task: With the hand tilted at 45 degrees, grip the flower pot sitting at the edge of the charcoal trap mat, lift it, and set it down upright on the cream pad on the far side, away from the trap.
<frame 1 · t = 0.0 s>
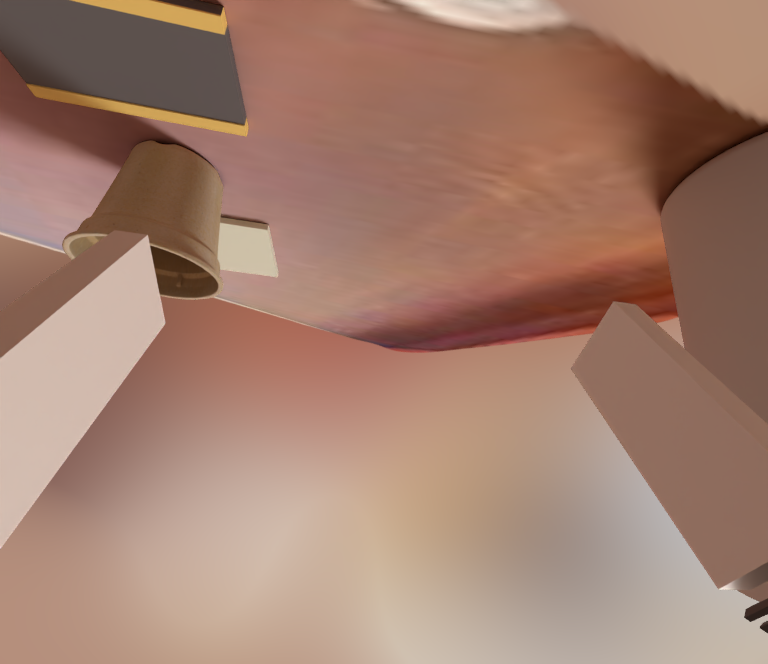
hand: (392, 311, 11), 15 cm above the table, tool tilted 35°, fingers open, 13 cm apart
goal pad: (213, 242, 38), on the table
flower pot: (179, 168, 28), on the table
trap mat: (120, 52, 20), on the table
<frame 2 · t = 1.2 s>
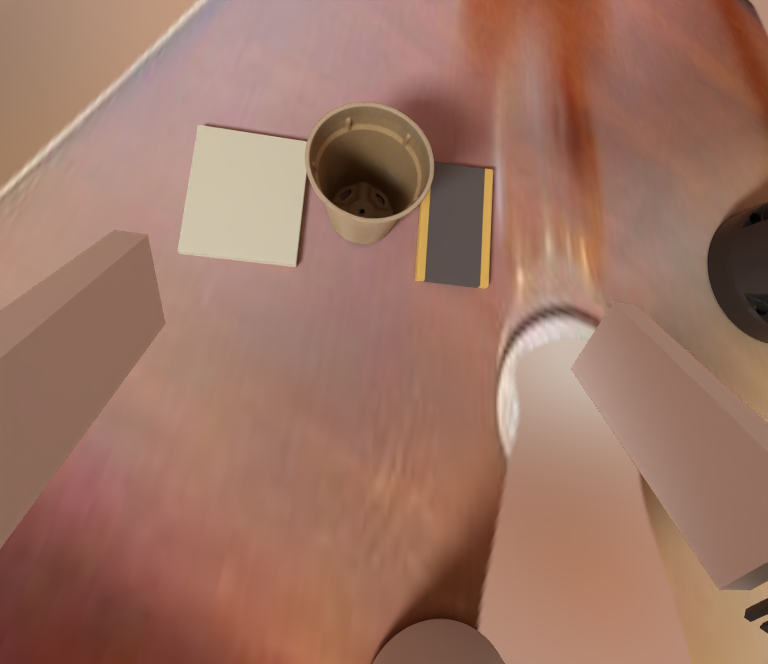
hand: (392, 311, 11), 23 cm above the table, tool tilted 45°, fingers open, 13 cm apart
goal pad: (248, 197, 34), on the table
flower pot: (362, 214, 36), on the table
trap mat: (453, 225, 36), on the table
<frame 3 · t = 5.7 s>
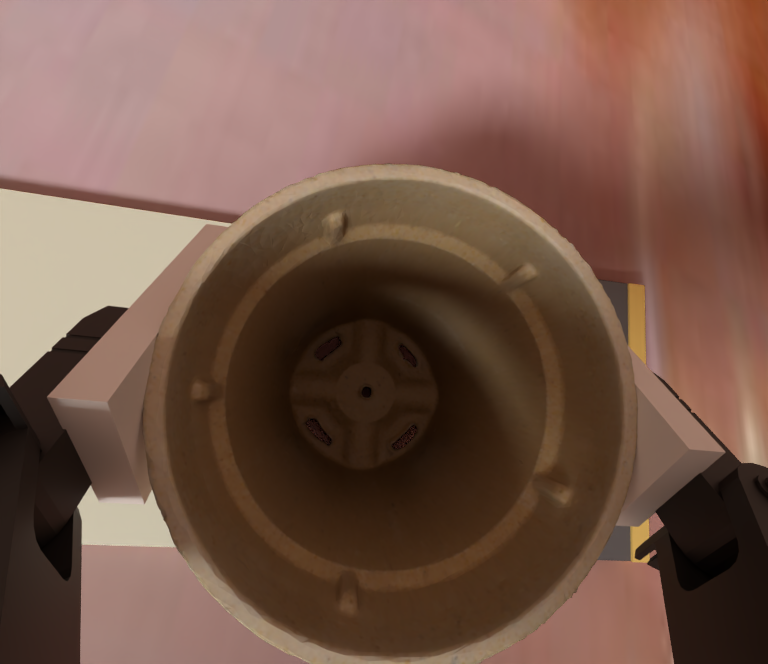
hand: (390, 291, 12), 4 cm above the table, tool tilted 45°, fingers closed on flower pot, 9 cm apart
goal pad: (85, 363, 14), on the table
flower pot: (365, 389, 16), on the table, touching gripper
trap mat: (564, 408, 17), on the table
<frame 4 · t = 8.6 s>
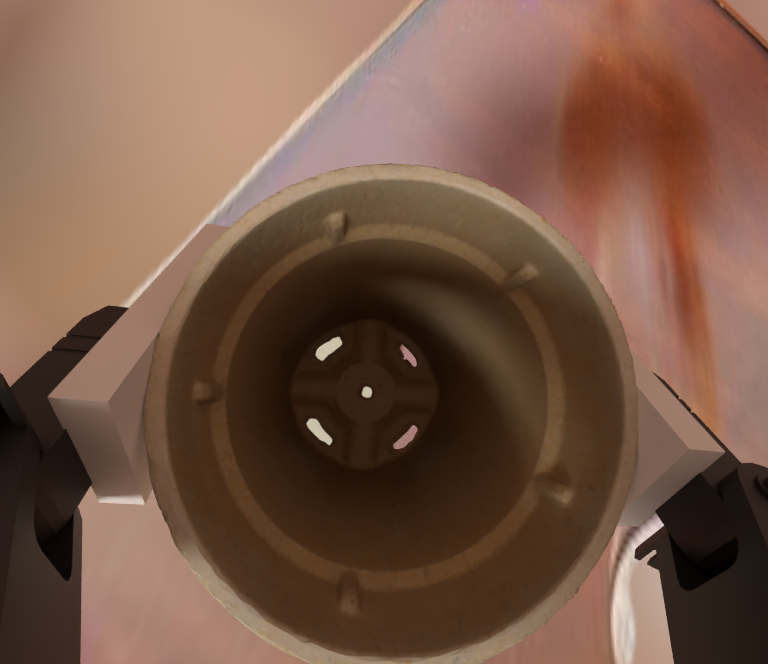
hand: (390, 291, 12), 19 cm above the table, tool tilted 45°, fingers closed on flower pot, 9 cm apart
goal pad: (330, 384, 29), on the table
flower pot: (365, 389, 16), point 14 cm above the table, touching gripper
when the fingers open (6 cm above the table, at t = 11.6 s): flower pot stays where it is, resting on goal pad.
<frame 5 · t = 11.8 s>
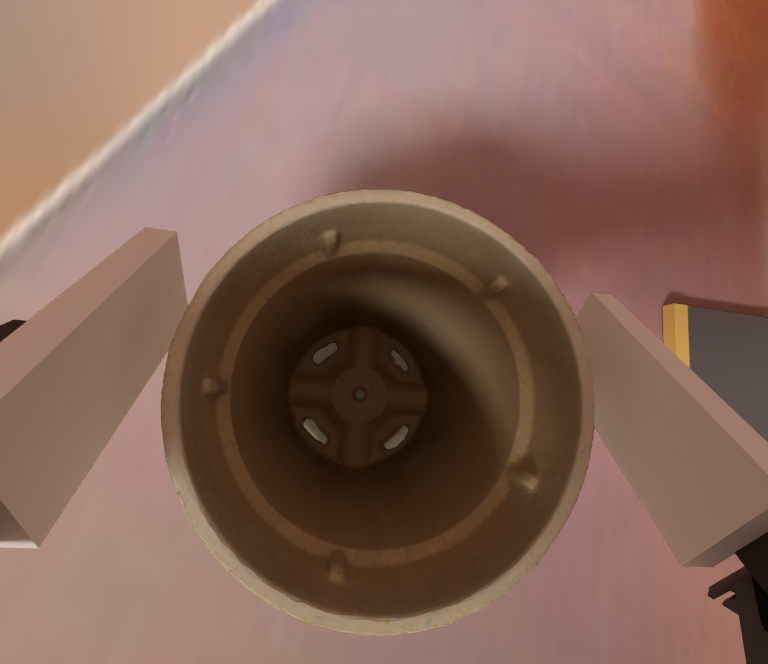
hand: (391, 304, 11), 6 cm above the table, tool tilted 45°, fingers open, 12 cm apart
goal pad: (361, 389, 17), on the table
flower pot: (359, 392, 17), resting on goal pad
trap mat: (722, 423, 20), on the table
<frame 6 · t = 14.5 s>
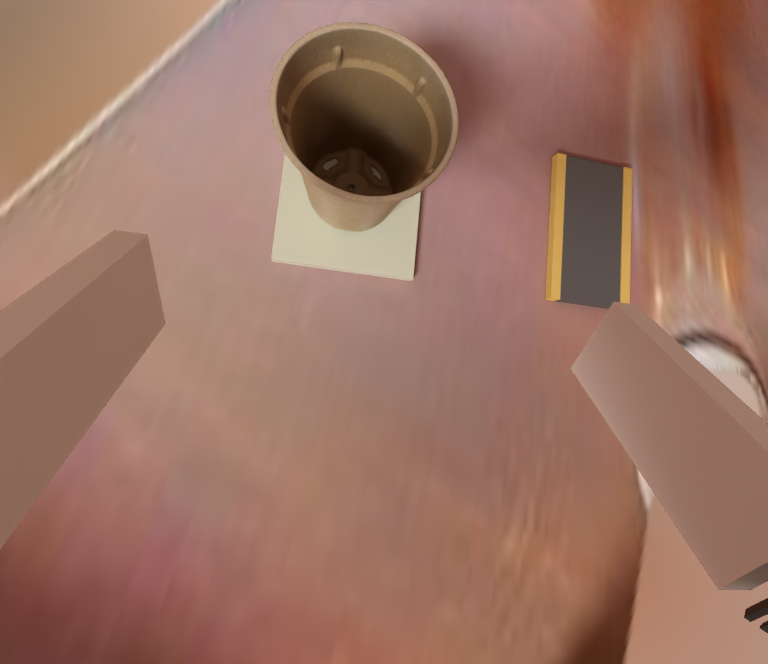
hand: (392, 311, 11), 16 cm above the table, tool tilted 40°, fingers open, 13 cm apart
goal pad: (352, 192, 27), on the table
flower pot: (351, 191, 27), resting on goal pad
trap mat: (587, 233, 31), on the table
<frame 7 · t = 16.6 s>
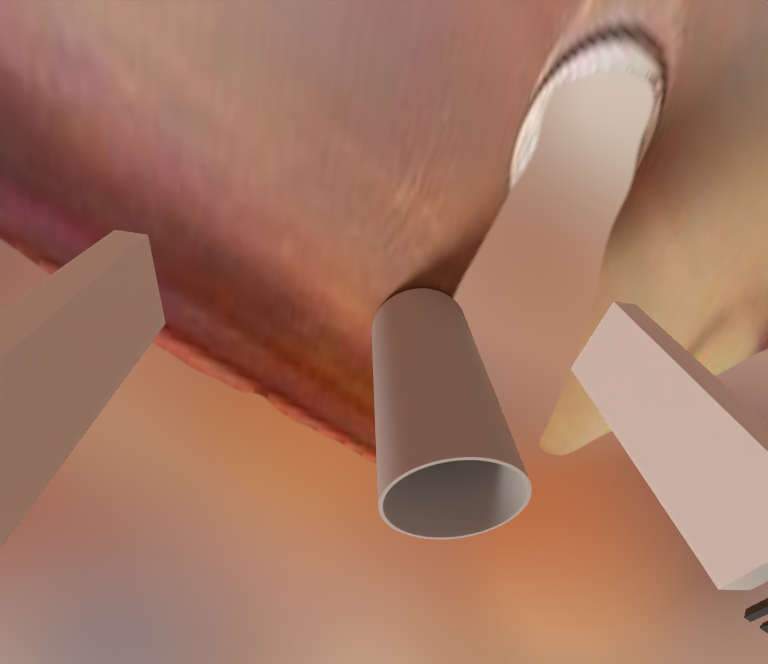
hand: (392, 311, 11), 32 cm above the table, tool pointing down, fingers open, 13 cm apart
cylinder vase: (417, 324, 51), on the table
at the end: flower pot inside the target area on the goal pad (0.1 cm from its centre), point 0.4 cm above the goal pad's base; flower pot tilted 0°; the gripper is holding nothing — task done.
